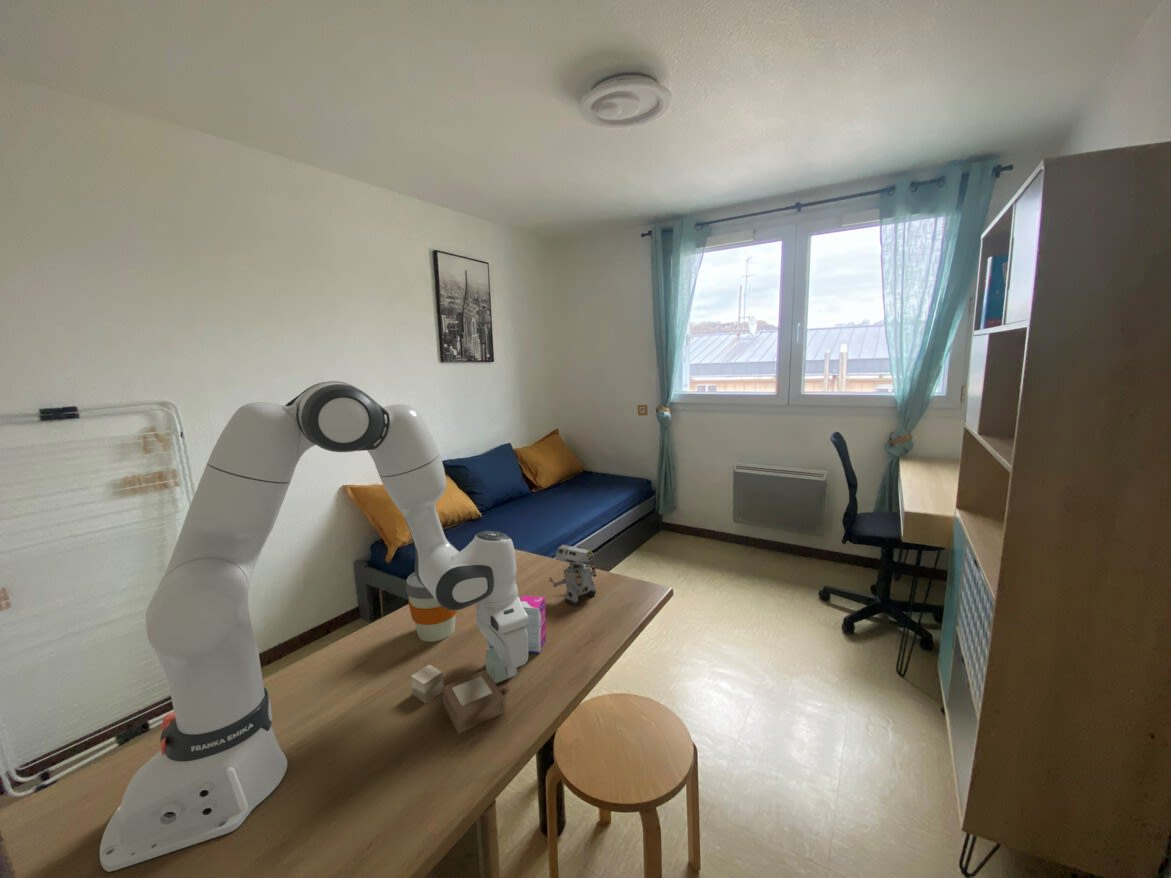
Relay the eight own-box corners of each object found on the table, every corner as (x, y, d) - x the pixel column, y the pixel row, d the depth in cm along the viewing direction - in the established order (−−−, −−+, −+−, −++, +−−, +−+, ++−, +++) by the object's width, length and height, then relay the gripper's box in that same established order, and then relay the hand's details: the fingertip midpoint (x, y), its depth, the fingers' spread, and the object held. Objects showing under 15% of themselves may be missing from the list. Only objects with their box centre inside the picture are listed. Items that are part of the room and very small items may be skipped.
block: (425, 703, 94) (423, 684, 93) (412, 695, 96) (410, 675, 96) (443, 691, 97) (442, 672, 96) (431, 683, 100) (429, 664, 99)
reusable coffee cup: (442, 649, 111) (437, 591, 109) (399, 641, 115) (393, 584, 113) (471, 622, 123) (467, 568, 121) (431, 615, 127) (426, 563, 125)
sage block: (495, 684, 99) (494, 662, 98) (486, 671, 103) (485, 650, 102) (516, 674, 102) (515, 654, 101) (507, 663, 106) (506, 642, 105)
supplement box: (540, 654, 108) (538, 608, 107) (516, 652, 110) (513, 606, 108) (547, 640, 114) (545, 596, 112) (524, 637, 115) (521, 594, 113)
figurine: (570, 585, 142) (568, 538, 140) (600, 596, 135) (598, 547, 132) (549, 597, 135) (547, 548, 133) (579, 609, 128) (578, 558, 125)
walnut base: (458, 733, 86) (456, 713, 85) (443, 705, 93) (442, 686, 92) (503, 712, 90) (502, 693, 90) (486, 687, 98) (485, 669, 97)
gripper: (466, 590, 107) (471, 645, 109) (503, 631, 90) (507, 695, 92) (492, 582, 110) (496, 636, 112) (532, 620, 93) (535, 683, 95)
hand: (501, 663), depth 102 cm, fingers open, 8 cm apart
